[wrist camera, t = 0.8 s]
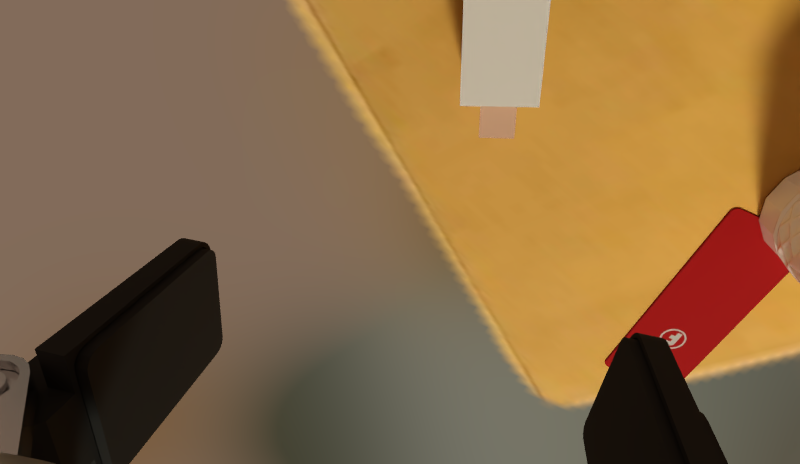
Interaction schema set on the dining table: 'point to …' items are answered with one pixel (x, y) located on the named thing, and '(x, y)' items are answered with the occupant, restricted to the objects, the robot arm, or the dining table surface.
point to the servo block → (502, 60)
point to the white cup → (784, 222)
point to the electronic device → (713, 290)
